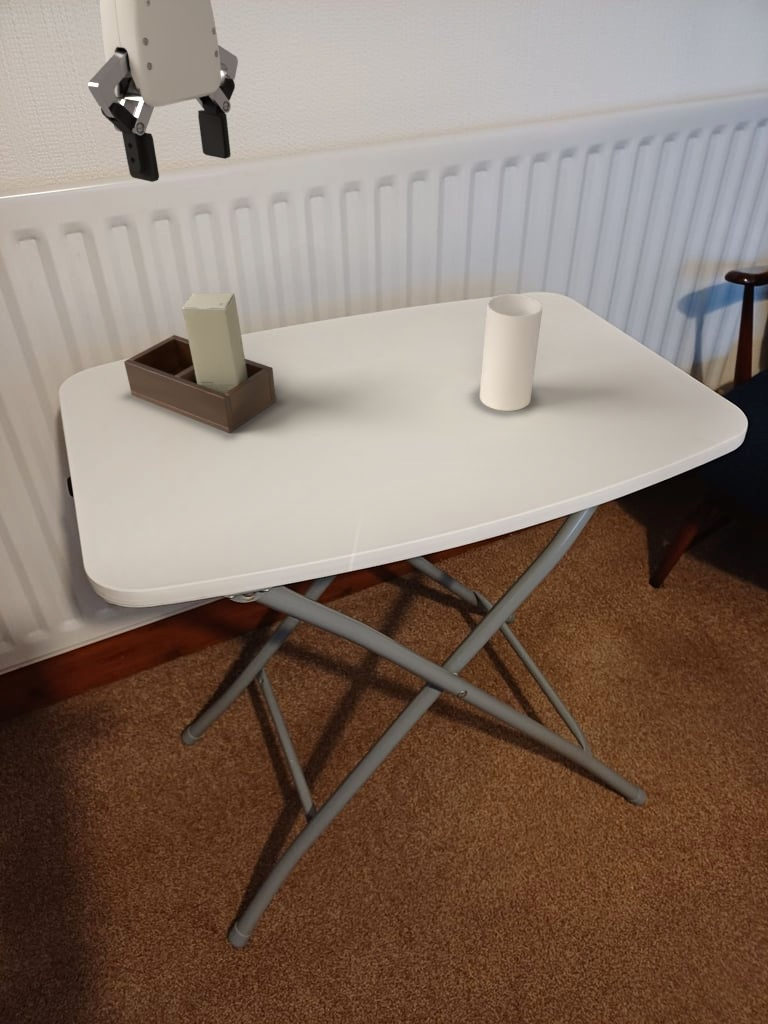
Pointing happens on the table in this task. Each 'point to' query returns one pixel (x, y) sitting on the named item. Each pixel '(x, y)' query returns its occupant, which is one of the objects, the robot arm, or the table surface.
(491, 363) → the cup
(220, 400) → the divided tray
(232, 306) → the box
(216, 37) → the robot arm
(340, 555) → the table surface
